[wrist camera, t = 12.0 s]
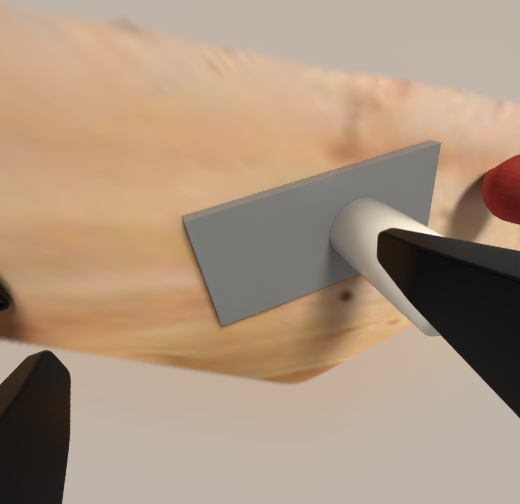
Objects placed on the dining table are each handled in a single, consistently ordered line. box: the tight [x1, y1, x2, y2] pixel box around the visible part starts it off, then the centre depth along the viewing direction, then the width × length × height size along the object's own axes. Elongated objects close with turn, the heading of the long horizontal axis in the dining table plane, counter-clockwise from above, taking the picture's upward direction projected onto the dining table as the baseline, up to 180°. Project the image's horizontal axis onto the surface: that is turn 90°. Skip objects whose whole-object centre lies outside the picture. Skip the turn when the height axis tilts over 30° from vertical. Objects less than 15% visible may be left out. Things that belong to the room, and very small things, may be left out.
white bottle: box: [330, 197, 444, 336], centre depth 19 cm, size 5×5×12 cm
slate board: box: [182, 140, 441, 326], centre depth 24 cm, size 20×10×1 cm, turn 102°
